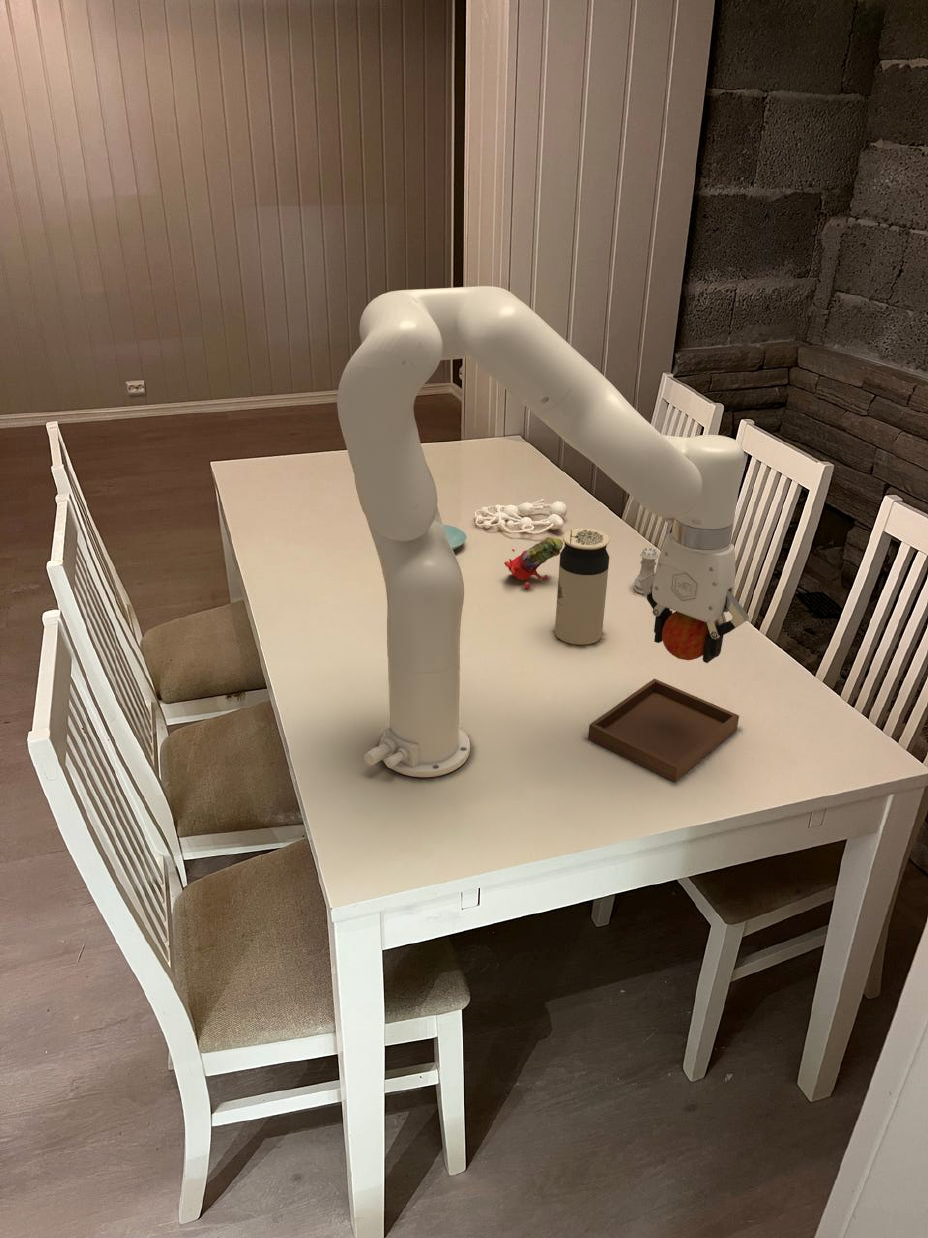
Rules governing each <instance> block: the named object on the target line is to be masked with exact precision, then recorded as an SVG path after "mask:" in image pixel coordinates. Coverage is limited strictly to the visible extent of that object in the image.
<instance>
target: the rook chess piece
mask: <svg viewBox="0 0 928 1238" xmlns="http://www.w3.org/2000/svg"><path fill="white" fill-rule="evenodd" d="M657 552H658V551H657V549H656V548H653V549H652V547H649V548H647V547H645V548H644V549H642V551H641V552H640V554H639V556H640V557H641V560H640V565H641V566H640V570H639V572H638V573H639V574H638V575H637V576H636V577H635V579H634V583H633V586H632V588H633V590H634V591H635V592H636V593H638V594H640V595H644V596H645V595H646V594H645V593H644V591H643V589H642V587H641V585H640V582H641V581H642V580H644V579H645V578H647V577H649V576H651V575H654V574H655V572H656V571H655V569H656V567H655V566H657V562H656V560H657V559H659V555H658V553H657ZM646 596H647V595H646Z"/></svg>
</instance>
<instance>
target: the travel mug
mask: <svg viewBox="0 0 928 1238" xmlns="http://www.w3.org/2000/svg"><path fill="white" fill-rule="evenodd" d="M610 541H611V539H610V537H609V536H608V535H607V534H606V533H605V532H603V531H601V530H597V529H593V528H584V527H583V528H573V529H570V530H567V531H565V533H564V534H563V535H562V542H563V544H564V546H563V547H562V549H561V550H560V554H559V562H558V578H557V593H556V594H557V595H556V607H555V609H556V610H555V623H554V634H555V636H556V637H557V638H558V639H559V640H561V641H563V642H565V643H568V644H571V645H577V646H578V645H579V646H581V645H582V646H583V645H584V646H585V645H590V644H594V643H597V642H599V641H600V640H601V639H602V637H603V629H604V618H605V610H606V609H605V608H606V598H607V587H608V576H609V567H610V566H609V565H610V554H609V552H608V551H607V546H608V545H609V544H610Z"/></svg>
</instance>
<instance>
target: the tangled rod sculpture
mask: <svg viewBox="0 0 928 1238" xmlns="http://www.w3.org/2000/svg"><path fill="white" fill-rule="evenodd" d="M544 501H545V500H544V498H541V499H539V500H537V501H534V502H528V501H527V502H523V503H520V504H519V505H515V504H507V505H506V504H505V505H504V504H499V503H497V504H495V505H489V506H483V507H481V508H480V509H477V510H476V511H474V512H473V515H474V519H475V523H474V524H475V525H476V526H478V527H483V528H484V529H486V530H489V529H490V528H491V527H492V528H493V527H498V528H500V529H501V528H502V529H503V530H504V531H505V532H507V533H509V534H520V533H528V534H533V535H534V534H535V535H538V534H541V533H545V532H546V531H548V530H553V531H554V530H558V529H562V528H564V526H565V522H564V520H563V518H565V517H566V515H567V514H568V507H567V505H566V504H565V503H564V502H563V501H560V500H557V501H554V502H552V503H545V502H544ZM546 508H549V516H548V517H547V518H543V519H540V520H535V521H533V519H532V518H530V517H529V515H531V514H533V513H534V511H537V510H541V511H543V510H544V509H546ZM489 509H494V511H495V513H493V512H492V511H491V512H490V511H489ZM479 512H480V514H478V513H479ZM477 514H478V515H477ZM519 514H520V515H523V516H524V517H521V516H520V515H519ZM486 515H489V516H486ZM506 521H507V522H506ZM493 522H497V523H494V524H493ZM515 526H518V527H519V530H510V529H513V528H514V527H515ZM535 526H546V527H545V528H543V529H540V530H537V531H536V530H535V531H533V530H534V529H535ZM506 527H507V528H506Z"/></svg>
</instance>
